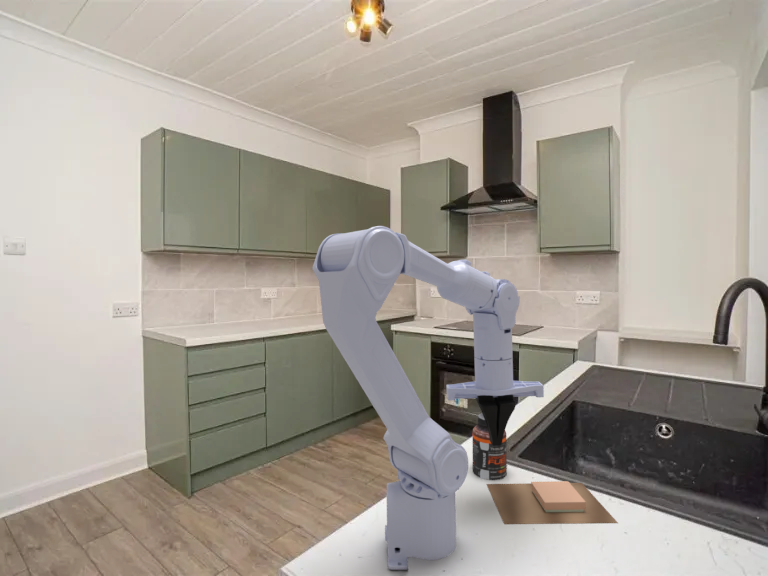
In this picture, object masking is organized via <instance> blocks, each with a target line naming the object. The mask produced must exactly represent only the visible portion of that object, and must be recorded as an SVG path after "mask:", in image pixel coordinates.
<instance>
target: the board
mask: <svg viewBox="0 0 768 576" xmlns="http://www.w3.org/2000/svg"><path fill="white" fill-rule="evenodd" d="M569 483H570V484H571V485H572V486H573V488H574V489H575V490H576V491H577V492H578V493H579V495H580V496H581V497H582V498H583V499H584V500H585V502H586V509H584V512H545V510H544V509H543V507H542V506H541V504H540V502H539V501H538V499H537V498H536V496H535V495H534V493H533V491H532V489H531V482H530V483H486V487H487V488H488V491H489V493H490V496H491V498H492V501H493V502H494V504H495V507H496V509H497V512H498V513H499V515H500V517H501V521H502V522H503V524H504V525H553V524H554V525H559V524H561V525H563V524H565V525H568V524H571V525H573V524H576V525H577V524H581V525H583V524H619V522H618V521H617V520H616V519H615V517H613V515H612V514H610V512H609V511H608V510H607V509H606V508H605V507H604V506H603V505H602V503H601V502H600V501H599V500H598V499H597V498H596V496H594V494H593V493H592V492H591V491H590V490H589V489H588V488H587V487H586V486H585V484H583V482H569Z"/></svg>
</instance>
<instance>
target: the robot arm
mask: <svg viewBox="0 0 768 576" xmlns="http://www.w3.org/2000/svg"><path fill="white" fill-rule="evenodd" d="M311 269H312V271H313V273H314V275H315V277H316V278H317V281H318V285H319V294H320V304H321V305H320V306H321V314H322V315H321V316H322V323H323V324H324V325H323V326H324V327H325V330H326V331H327V333H328V334H329V337H330V338H331V339H332V341H333V343H334V344H335V346H336V348H337V349H338V352H340V354H341V356H342V357H343V359H344V360H345V362H346V364H347V366H348V367H349V369H350V370H351V372H352V374H353V376H354V377H355V380H357V382H358V384H359V385H360V387H361V389H362V390H363V391H364V393H365V395H366V397H367V398H368V400H369V402H370V404H371V405H372V407H373V408H374V409H375V412H376V413H377V415H378V417H379V418H380V419H381V422H382V423H383V424H384V426H385V429H386V431H385V433H384V435H383V440H384V441H385V443H386V446H387V448H388V457H389V458H388V459H389V462H390V464H391V466H392V467H393V468H394V469H395V470H397V479H398V480H397V481H392V482H387V483H386V524H385V526H384V541H385V542H387V544H386V545H387V568H388V570H397V571H398V570H403V571H404V570H409V565H408V563H409V561H408V558H415V559H416V558H417V559H421V560H427V561H434V560H436V561H437V560H441V559H444V558H447V557H448V556H450V555H451V554H452V553H453V552H454V551H455V550H456V547H457V526H456V525H457V519H456V516H457V515H456V513H457V512H456V510H457V509H456V507H457V506H456V492H457V491H459V490H460V488H461V487H462V486H463V484H464V482H465V481H466V478H467V475H468V473H469V472H468V470H469V457H468V453H467V451H466V449H465V448H464V446H462V445H461V444H459V443H457V442H455V440H454V439H453V438H452V435H450V433H449V432H448V431H447V430H446V429H445V428H443V427H442V426H441V425H440V424H439V423H437V422H436V421H435V420H433V419H432V418H431V417H430V416H429V414H428V412H427V410H426V408H425V406H424V405H423V403H422V401H421V400H420V398H419V396H418V394H417V392H416V390H415V388H414V386H413V385H412V383H411V381H410V380H409V377H408V376H407V374H406V372H405V370H404V368H403V367H402V364H401V363H400V361H399V360H398V357H397V356H396V353H394V351H393V349H392V347H391V345H390V344H389V342H388V340H387V338H386V336H385V335H384V332H383V331H382V329H381V327H380V325H379V323H378V321H377V319H376V316H377V313H378V312H379V311H380V310H381V309H382V306H383V305H384V303H385V301H386V299H387V298H388V296H389V294H390V292H392V289H393V286H394V285H395V283H396V282H397V280H398V278H399V276H400V275H405V276H408V277H410V278H413V279H416V280H418V281H421V282H423V283H426V284H427V283H428V284H429V285H433V286H435V287H436V290H437V293H438V294H439V296H440V297H441V298H442V299H444V300H445V301H446V300H447V301H450V302H452V303H454V304H456V305H459V306H461V307H464V308H465V310H466V311H467V313H468V314H469V315H471V316H472V320H473V321H472V323H473V350H474V352H473V353H474V355H473V357H474V381H467V382H460V383H454V384H452V383H451V384H446V387H445V388H446V398H447V400H448V401H455V400H457V399H459V400H460V399H475V400H476V404H477V405H478V407H479V409H480V411H481V413H482V414H483V416H484V419H485V422H486V425H487V428H488V432H489V438H490V442H491V444H492V445H493V446H501V445H502V440H503V435H504V431H506V428H507V425H508V422H509V420H510V418H511V416H512V414H513V412H514V411H515V409H516V400H514V398H515V397H516V398H517V397H536V398H544V396H545V394H544V392H545V390H544V384H542V383H541V382H540V381H528V380H527V381H525V380H524V381H523V380H514V363H513V361H514V358H513V353H514V352H513V328H515V324H516V314H517V312H518V309H519V306H520V299H521V297H520V295H519V293H518V289H517V287H516V286H515V284H514V283H512V282H511V281H510V280H508V279H505V278H504V279H503V278H499V279H495V278H494V277H492V276H491V272H488V271H481V270H479V269H477V268H475V267H473V266H472V261H470V260H468V259H458V260H454V261H451V262H448V263H447V262H445V261H444V260H442V259H440V258H438V257H437V256H435V255H433V254H432V253H430V252H428V251H427V250H424V248H422V247H419V246H418V245H416V244H414V243H413V242H412V241H410V240H408V238H407V235H405V234H404V233H400V232H395V231H394V230H393V229H391V228H390V227H387V226H384V225H377V226H371V227H370V228H368V229H367V228H366V229H362V230H355V231H351V232H350V231H349V232H345V233H341V232H339V233H333V234H329V235H328V236H326V238H324V239H323V240H322V242H321V243H320V245H319V246H318V250H317V252H316V256H315V259H314V262H313V265H312V268H311Z"/></svg>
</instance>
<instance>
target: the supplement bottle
mask: <svg viewBox="0 0 768 576" xmlns="http://www.w3.org/2000/svg"><path fill="white" fill-rule="evenodd" d="M471 437H472V473H473V475H475V476H476V477H478V478H479V479H483V480H486V481H487V480H489V481H499V480H503V479H505V478H506V476H507V474H508V473H507V471H508V470H507V469H508V465H507V464H508V463H507V461H508V459H507V458H508V457H507V455H508V454H507V453H508V451H507V449H508V448H507V442H508V441H507V431H506V430H505V431H504V435H503V440H502V445H501V446H493V445H492V444H491V442H490V438H489V432H488V428H487V425H486V422H485V419H484V416H483V414H482V412H481V413H479V414H478V415H477V424H476V425H475V426H474V427H473V429H472V436H471Z"/></svg>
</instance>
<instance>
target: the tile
mask: <svg viewBox="0 0 768 576" xmlns="http://www.w3.org/2000/svg"><path fill="white" fill-rule="evenodd" d="M530 483H531V489H532V491H533V493H534V495H535V496H536V498H537V499H538V501H539V502H540V504H541V506H542V507H543V509H544V510H545V512H584V509H586V502H585V500H584V499H583V498H582V497H581V496H580V495H579V493H578V492H577V491H576V490H575V489H574V488H573V486H572V485H571V484H570V483H571V482H569V481H568V480H567V481H566V480H565V481H564V480H562V481H558V480H557V481H531V482H530Z"/></svg>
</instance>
